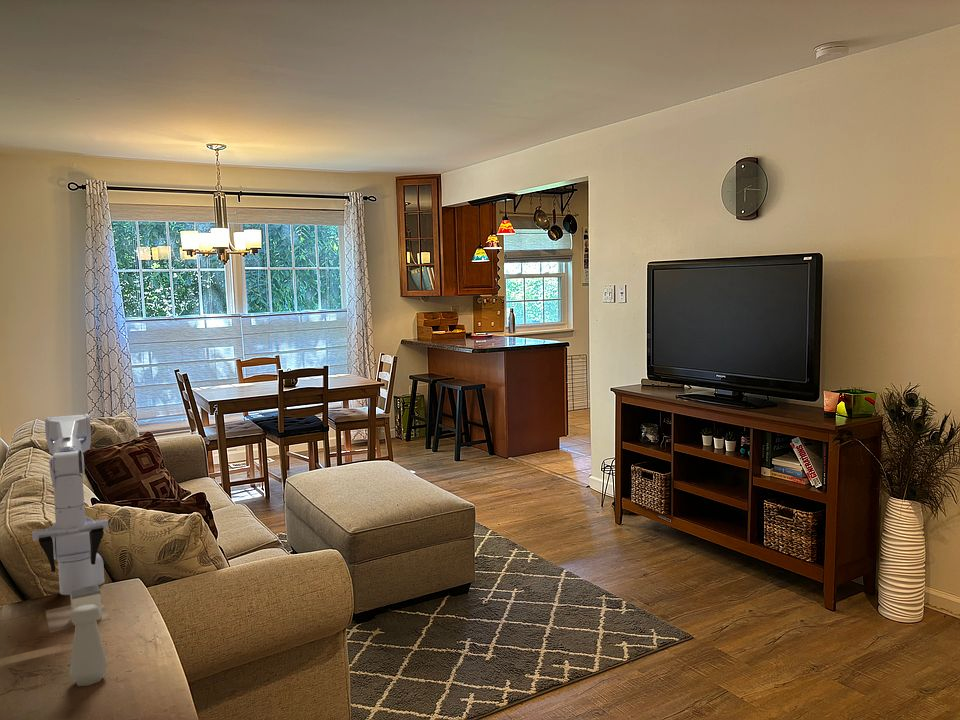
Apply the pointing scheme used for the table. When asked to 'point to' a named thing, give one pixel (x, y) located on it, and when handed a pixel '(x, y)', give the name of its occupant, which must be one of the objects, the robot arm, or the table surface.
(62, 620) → the stand
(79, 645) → the salt shaker
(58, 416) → the robot arm
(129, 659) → the table surface
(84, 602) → the matte gray cube
